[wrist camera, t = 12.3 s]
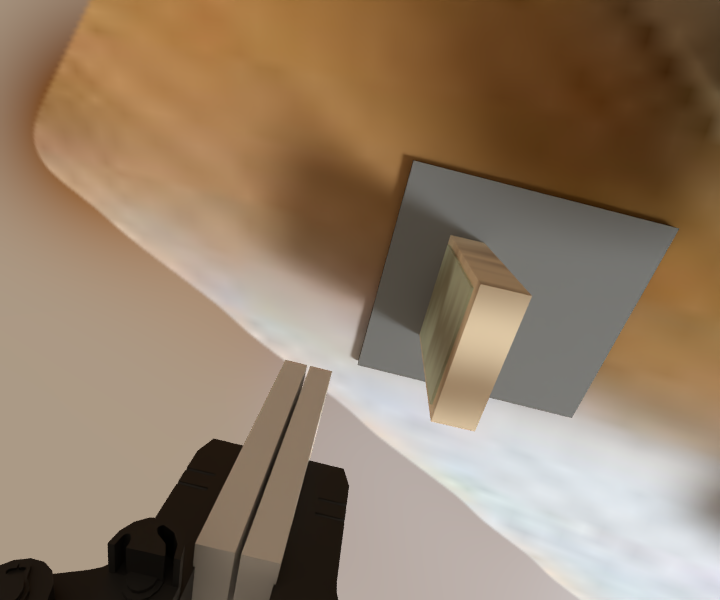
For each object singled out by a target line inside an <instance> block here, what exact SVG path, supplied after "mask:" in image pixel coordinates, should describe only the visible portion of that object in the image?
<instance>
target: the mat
mask: <svg viewBox="0 0 720 600" xmlns="http://www.w3.org/2000/svg"><path fill="white" fill-rule="evenodd" d="M678 230H679V229H678V228H675V227H672V226H668V225H664V224H660V223H656V222H652V221H648V220H644V219H640V218H637V217H633V216H629V215H625V214H621V213H617V212H613V211H609V210H605V209H601V208H598V207H594V206H590V205H586V204H582V203H578V202H574V201H570V200H566V199H563V198H559V197H555V196H551V195H547V194H543V193H539V192H535V191H531V190H527V189H524V188H520V187H516V186H512V185H508V184H504V183H500V182H496V181H492V180H488V179H485V178H481V177H477V176H473V175H469V174H465V173H461V172H457V171H453V170H449V169H446V168H442V167H438V166H434V165H430V164H426V163H422V162H418V161H414V160H413V164H412V167H411V171H410V175H409V178H408V182H407V185H406V189H405V193H404V196H403V200H402V204H401V207H400V211H399V215H398V218H397V222H396V226H395V229H394V233H393V237H392V240H391V244H390V248H389V251H388V255H387V258H386V262H385V266H384V269H383V273H382V277H381V280H380V284H379V288H378V291H377V295H376V299H375V302H374V306H373V310H372V313H371V317H370V320H369V324H368V328H367V331H366V335H365V339H364V342H363V346H362V350H361V353H360V357H359V361H358V365H360V366H364V367H368V368H372V369H376V370H380V371H384V372H388V373H392V374H396V375H400V376H405V377H409V378H413V379H417V380H421V381H425V373H424V366H423V359H422V351H421V344H420V336H419V334H420V331H421V328H422V325H423V322H424V318H425V315H426V312H427V309H428V306H429V302H430V299H431V296H432V293H433V290H434V286H435V283H436V280H437V277H438V274H439V270H440V267H441V264H442V261H443V258H444V254H445V251H446V248H447V245H448V242H449V238H450V235H453V236H457V237H461V238H466V239H470V240H474V241H478V242H483V243H485V244H486V245H487V246H488V248H489V249H490V250H491V251H492V252H493V253H494V254H495V255H496V256H497V258H498V259H499V260H500V261H501V262H502V263H503V264H504V265H505V266H506V268H507V269H508V270H509V271H510V272H511V273H512V274H513V275H514V276H515V278H516V279H517V280H518V281H519V282H520V283H521V284H522V285H523V286H524V288H525V289H526V290H527V291H528V292H529V293H530V294H531V295H532V298H531V300H530V302H529V305H528V307H527V309H526V312H525V314H524V316H523V319H522V321H521V323H520V326H519V328H518V331H517V333H516V335H515V338H514V340H513V342H512V345H511V347H510V349H509V352H508V354H507V357H506V359H505V361H504V364H503V366H502V368H501V371H500V373H499V375H498V378H497V380H496V382H495V385H494V387H493V390H492V392H491V394H490V397H489V398H493V399H497V400H502V401H506V402H510V403H514V404H518V405H522V406H526V407H530V408H534V409H538V410H542V411H546V412H550V413H554V414H558V415H562V416H566V417H570V418H572V417H573V415H574V413H575V411H576V410H577V408H578V406H579V404H580V403H581V401H582V399H583V397H584V395H585V394H586V392H587V390H588V388H589V387H590V385H591V383H592V381H593V380H594V378H595V376H596V374H597V373H598V371H599V369H600V367H601V366H602V364H603V362H604V360H605V358H606V357H607V355H608V353H609V351H610V350H611V348H612V346H613V344H614V343H615V341H616V339H617V337H618V336H619V334H620V332H621V330H622V329H623V327H624V325H625V323H626V321H627V320H628V318H629V316H630V314H631V313H632V311H633V309H634V307H635V306H636V304H637V302H638V300H639V299H640V297H641V295H642V293H643V292H644V290H645V288H646V286H647V284H648V283H649V281H650V279H651V277H652V276H653V274H654V272H655V270H656V269H657V267H658V265H659V263H660V262H661V260H662V258H663V256H664V255H665V253H666V251H667V249H668V247H669V246H670V244H671V242H672V240H673V239H674V237H675V235H676V233H677V232H678ZM425 382H426V381H425Z"/></svg>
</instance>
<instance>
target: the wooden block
mask: <svg viewBox="0 0 720 600" xmlns="http://www.w3.org/2000/svg"><path fill="white" fill-rule="evenodd" d="M531 298H532V295H531V294H530V293H529V292H528V291H527V290H526V289H525V288H524V286H523V285H522V284H521V283H520V282H519V281H518V280H517V279H516V278H515V276H514V275H513V274H512V273H511V272H510V271H509V270H508V269H507V268H506V266H505V265H504V264H503V263H502V262H501V261H500V260H499V259H498V258H497V256H496V255H495V254H494V253H493V252H492V251H491V250H490V249H489V248H488V246H487V245H486V244H485V243H483V242H478V241H474V240H470V239H466V238H461V237H457V236H453V235H450V238H449V242H448V245H447V248H446V251H445V254H444V258H443V261H442V264H441V267H440V270H439V274H438V277H437V280H436V283H435V286H434V290H433V293H432V296H431V299H430V302H429V306H428V309H427V312H426V315H425V318H424V322H423V325H422V328H421V331H420V334H419V336H420V344H421V351H422V359H423V366H424V373H425V381H426V388H427V396H428V403H429V411H430V418H431V422H436V423H440V424H445V425H449V426H453V427H458V428H462V429H466V430H471V431H475V430H476V427H477V425H478V423H479V420H480V418H481V415H482V413H483V411H484V408H485V406H486V404H487V401H488V399H489V397H490V394H491V392H492V390H493V387H494V385H495V382H496V380H497V378H498V375H499V373H500V371H501V368H502V366H503V364H504V361H505V359H506V357H507V354H508V352H509V349H510V347H511V345H512V342H513V340H514V338H515V335H516V333H517V331H518V328H519V326H520V323H521V321H522V319H523V316H524V314H525V312H526V309H527V307H528V305H529V302H530V300H531Z"/></svg>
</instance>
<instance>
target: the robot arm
mask: <svg viewBox="0 0 720 600" xmlns="http://www.w3.org/2000/svg"><path fill="white" fill-rule="evenodd" d="M306 368H307V365H304V364H300V363H296V362H292V361H288V360H285V362H284V364H283V366H282V369H281V370H280V372H279V374H278V376H277V378H276V380H275V382H274V384H273V386H272V388H271V390H270V392H269V395H268V397H267V398H266V401H265V403H264V405H263V407H262V409H261V411H260V413H259V415H258V417H257V419H256V421H255V423H254V425H253V427H252V429H251V431H250V433H249V435H248V437H247V439H246V441H245V443H244V445H243V446H242V445H238V444H233V443H230V442H226V441H222V440H218V439H213V440H211V441H210V442H209V443H207V444H206V445H205V446H203V447H202V448H201V449H199V450H198V451H197V453H196V454H195V456H194V457H193V459H192V461H191V462H190V464H189V465H188V467H187V470H185V472H184V473H183V475H182V477H181V478H180V480H179V482H178V484H176V486H175V487H174V489H173V490H172V492H171V494H170V495H169V497H168V498H167V500H166V502H165V503H164V505H163V506H162V508H161V509H160V511H159V513H158V514H157V516H156V518H147V519H143V520H139V521H136V522H133V523H132V524H130V525H128V526H127V527H125V528H123V529H122V530H120V531H119V532H118V533H117V534H116V535H115V536H114V537H113V538H112V539H111V540H110V541H109V542H108V565H106V566H104V567H101V568H96V569H91V570H84V571H76V572H66V573H57V574H53V573H52V570H51V569H50V568H49V567H48V566H47V564H46V563H44V562H42V561H39V560H35V559H32V558H29V559H20V560H13V561H10V562H8V563H5V564H2V565H0V600H338V597H337V576H338V568H339V560H340V552H341V544H342V537H343V529H344V520H345V513H346V505H347V498H348V490H349V485H348V481H347V478H346V475H345V472H344V469H342V468H338V467H334V466H329V465H326V464H321V463H317V462H313V461H310V457H311V453H312V449H313V445H314V442H315V438H316V434H317V430H318V426H319V422H320V418H321V413H322V410H323V405H324V401H325V398H326V393H327V389H328V385H329V381H330V377H331V373H332V371H328V370H324V369H320V368H316V367H312V366H310V369H309V371H308V374H307V377H306V380H305V382H304V385H303V381H304V377H305V372H306ZM302 386H303V388H302Z"/></svg>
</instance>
